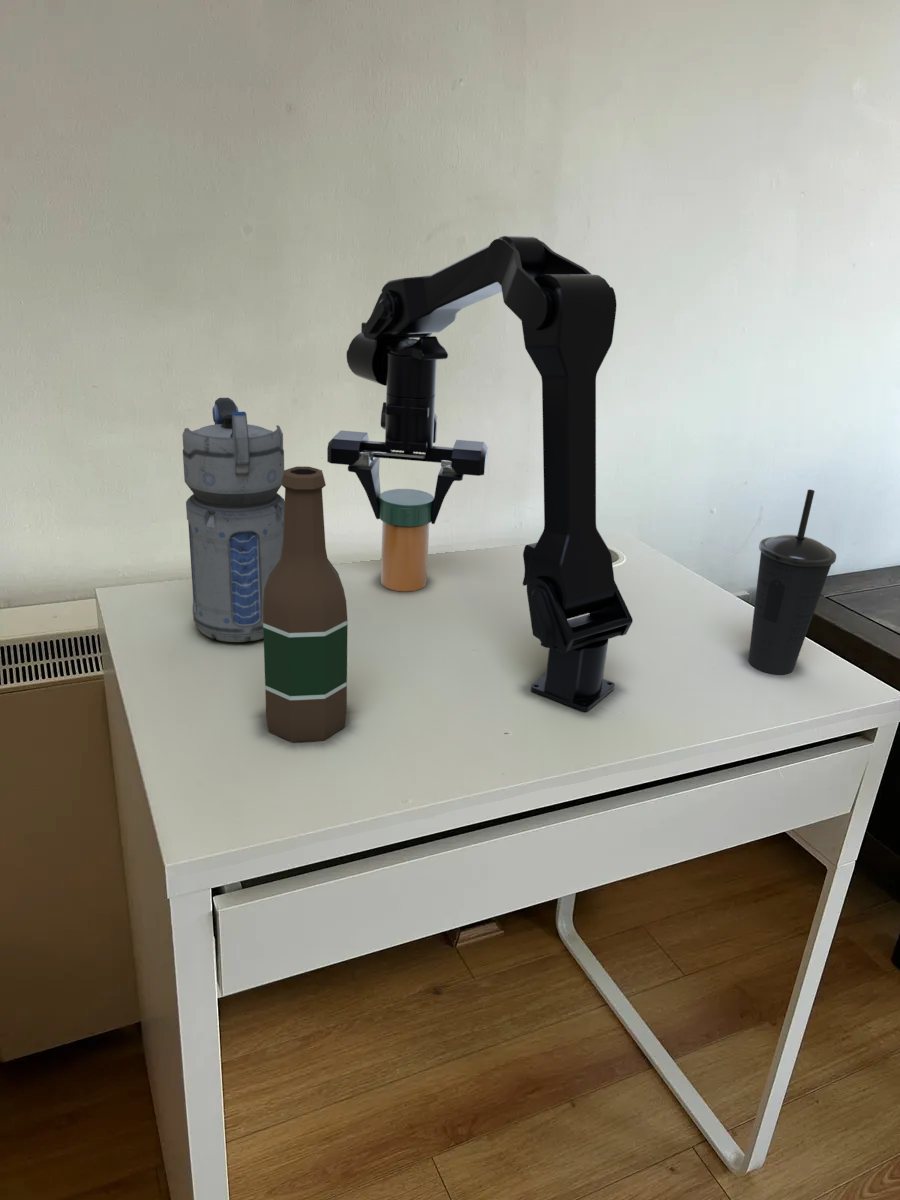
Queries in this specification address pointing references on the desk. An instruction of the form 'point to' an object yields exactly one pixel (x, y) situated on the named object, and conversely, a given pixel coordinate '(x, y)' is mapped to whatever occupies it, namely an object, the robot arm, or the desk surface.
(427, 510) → the lid
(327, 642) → the beer bottle
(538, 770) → the desk surface
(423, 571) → the jar
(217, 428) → the beverage bottle
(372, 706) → the desk surface
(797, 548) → the drinking cup
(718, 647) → the desk surface
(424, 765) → the desk surface
